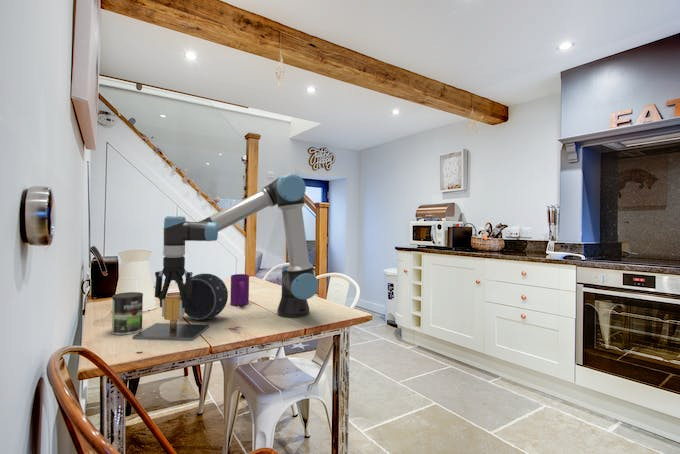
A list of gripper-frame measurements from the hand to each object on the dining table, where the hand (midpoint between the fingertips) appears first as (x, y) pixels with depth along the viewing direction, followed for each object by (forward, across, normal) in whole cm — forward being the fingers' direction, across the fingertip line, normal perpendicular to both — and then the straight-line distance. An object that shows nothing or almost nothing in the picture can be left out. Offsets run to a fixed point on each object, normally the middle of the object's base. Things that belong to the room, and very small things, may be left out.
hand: (173, 315), depth 135 cm
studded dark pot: (+7, -4, -19) cm, 20 cm away
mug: (+7, -13, -44) cm, 46 cm away
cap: (+1, 0, 0) cm, 1 cm away
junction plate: (+7, 0, 0) cm, 7 cm away
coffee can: (+7, +18, -1) cm, 20 cm away
